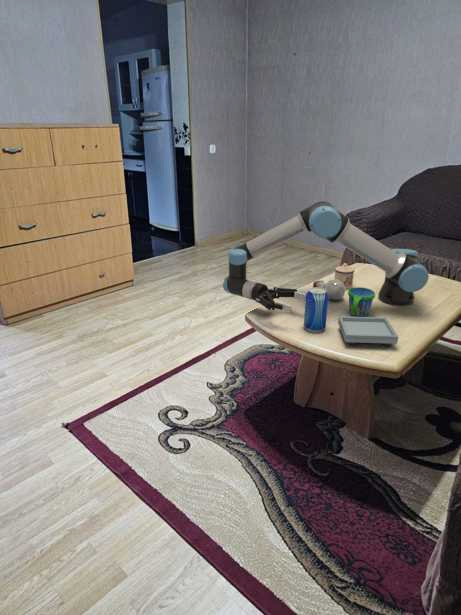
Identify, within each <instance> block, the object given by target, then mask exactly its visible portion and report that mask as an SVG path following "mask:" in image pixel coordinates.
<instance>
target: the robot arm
mask: <svg viewBox="0 0 461 615" xmlns="http://www.w3.org/2000/svg"><path fill="white" fill-rule="evenodd" d="M310 232H312V233H313V234H314V235H315V236H317V237H319V238H321V239H325V240H326V241H328V242H330V243H331V244H333V243H339V244H340V245H341V246H343V247H345V248H347V249H348V250H350V251H351V252H353V253H354V254H356V255H358V256H360V258H362V259H364V260H366V261H368V262H369V263H371V264H372V265H374V266H375V267H377V269H378V268H379V269H380V270H381V271H383V272H384V273H385V274H384V276H385V277H384V281H383V283H382V286H381V287H380V289H379V291H378V296H377V298H378V300H379V301H380V302H383V303H385V304H388V305H393V306H410V305H412V304H413V303H414V300H415V294H414V293H415V292H418V291H420V290H422V289H423V288H424V287H425V286H426V285H427V283H428V281H429V277H430V276H429V272H428V270H427V268H426V267H425V266H424V265H423V264H422V263H421V262H419V261H418V259H417V258H418V251H417V250H414V249H408V248H393V249H391V248H390V247H387V245H385V244H383V243H381V242H380V241H379V240H376V239H375V238H374V237H372V236H370V235H369V234H367V233H366V232H364V231H362V230H361V229H360V228H358V227H357V226H355V225H353V224H352V223H351V222H350V218H349V216H346V215H345V214H343V213H342V212H340V211H339V210H337V209H336V208H335V207H334V205H332V204H331V203H330V202H327V201H322V200H321V201H317V202H314V203H313V204H311V205H309V206H307V207H306V208H304V209H302V210H301V211H298V213H297V215H296V216H294V217H293V218H290V219H289V220H287V221H284V222H283V223H281V224H279V225H277V226H275V227H273V228H271V229H270V230H267V231H266V232H264V233H261V234H260V235H258V236H255V237H254V238H253V239H251V240H248V241H247V242H245V243H243V244H237V245H236V246H234V248H233V249H231V250H230V251H228V258H227V259H228V275H227V276H226V277H225V278H224V280H223V282H222V287H223V290H224V291H225V292H226V293H228V294H231V295H235V296H239V297H242V298H244V299H245V298H246V299H248V300H252V301H255V302H256V303H258V304H260V305H262V306H263V307H264V308H265V309H267V310H271V311H272V312H273V311H275V310H279V311H282V312H286V313H289V314H291V312H292V305H290V304H288V303H287V304H286V303H283V302H280V301H276V302H275V300H274V299H280V298H294V299H295V300H298V301H303V302H305V299H306V294H307V293H301V292H299V291H298V289H297V288H284V287H278V286H274V287H273V288H269V287H268V286H267V285H266V284H265V283H261V282H257V281H254V280H249V279H247V268H248V261H250V260H252V259H254V258H256V257H258V256H260V255H261V254H264V253H266V252H267V251H269V250H271V249H273V248H276V247H277V246H279V245H281V244H284V243H286V242H288V241H289V240H291V239H294V238H295V237H298V236H299V235H301V234H303V233H310Z"/></svg>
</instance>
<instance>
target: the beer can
mask: <svg viewBox="0 0 461 615" xmlns="http://www.w3.org/2000/svg"><path fill="white" fill-rule="evenodd" d="M326 292H327V291H326V290H325V289H324V288H320V287H313V286H312V287H311V288H309V289H308V291H307V292H306V293H305V294H306V299H305V301H304V302H305V303H304V313H303V314H304V315H303V327H304V329H305V330H306V331H307V332H309V333H314V334H317V333H321V332H323V331H324V330H325V329H326V327H327V325H326V324H327V318H328V317H327V316H328V305H329V298H328V294H327V293H326Z"/></svg>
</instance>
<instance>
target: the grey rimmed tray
mask: <svg viewBox="0 0 461 615" xmlns="http://www.w3.org/2000/svg"><path fill="white" fill-rule="evenodd" d="M337 324H338V326H339V330H340V331H341V334H342V337H343V340H344V343H347V345H348V346H349V347H353V346H354V345H355V343H362V344H363V343H365V344H366V343H367V344H383V345H384V346H385V348H390V347H391V346H392V345H393V344H396V345H397V344H398V340H399V335H398V333H397V332H396V331H395V328H394V327H393V326H392V325H391V323H390V321H389V319H388V318H387V317H375V316H374V317H373V316H372V317H371V316H366V317H355V316H345V315H344V316H341V315H340V316H339V315H338V319H337Z"/></svg>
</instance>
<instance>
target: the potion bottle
mask: <svg viewBox="0 0 461 615" xmlns="http://www.w3.org/2000/svg"><path fill="white" fill-rule="evenodd" d="M312 285H313V286H312V288H313V287H320V288H324V289H325V290H326V291H327V292H326V293H327V294H328V300H330V301H339V300H341V299H342V298H343V297H344V296H345V293H346V290H345V289H346V288H345V286H344V284H343V282H341V281H339V280H337V279H329V280H328V282H324V279H321V280H316V281H313V284H312Z"/></svg>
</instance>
